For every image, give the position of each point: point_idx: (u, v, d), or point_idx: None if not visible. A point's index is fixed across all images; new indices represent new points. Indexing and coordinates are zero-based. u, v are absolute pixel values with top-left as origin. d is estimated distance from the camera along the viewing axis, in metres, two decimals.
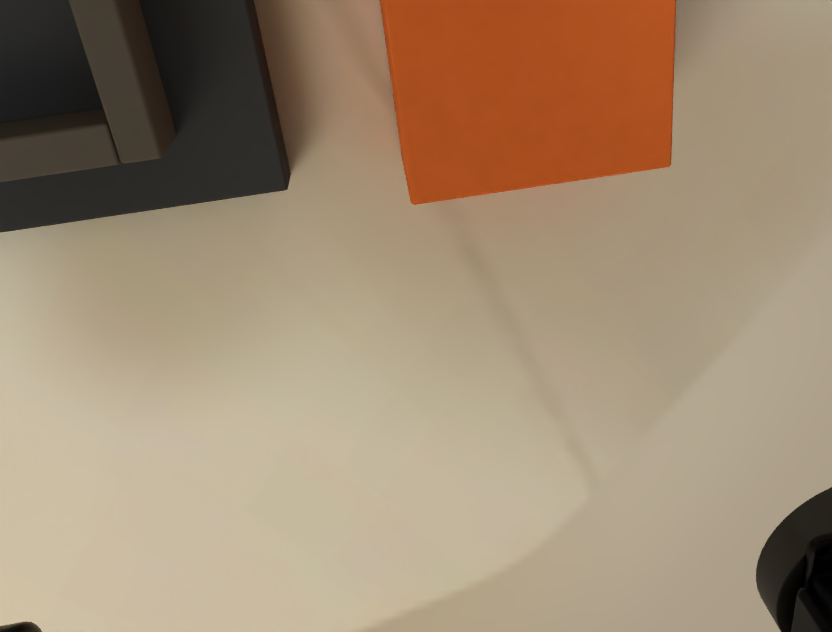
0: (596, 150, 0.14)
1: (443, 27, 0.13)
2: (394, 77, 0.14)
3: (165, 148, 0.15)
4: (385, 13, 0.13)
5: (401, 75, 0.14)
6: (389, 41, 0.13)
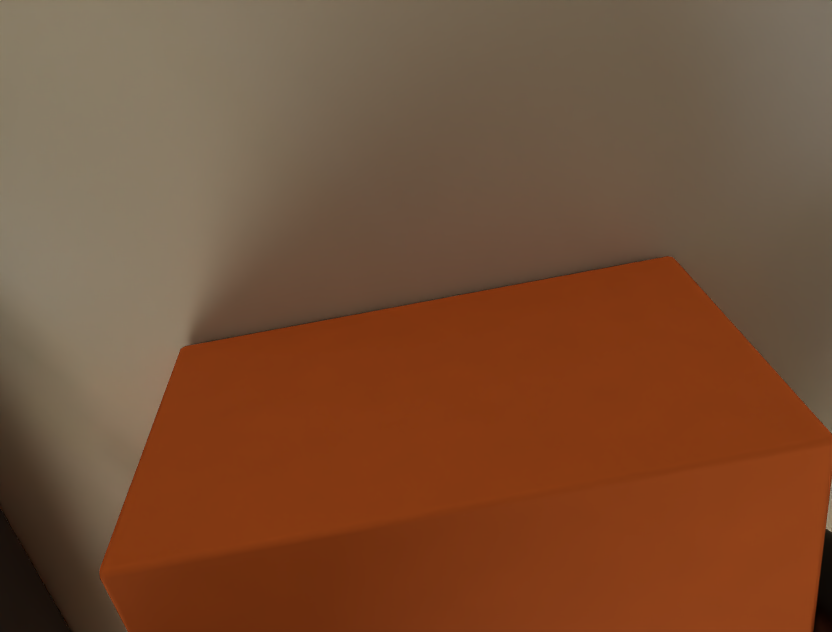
0: None
1: None
2: None
3: None
4: None
5: None
6: None
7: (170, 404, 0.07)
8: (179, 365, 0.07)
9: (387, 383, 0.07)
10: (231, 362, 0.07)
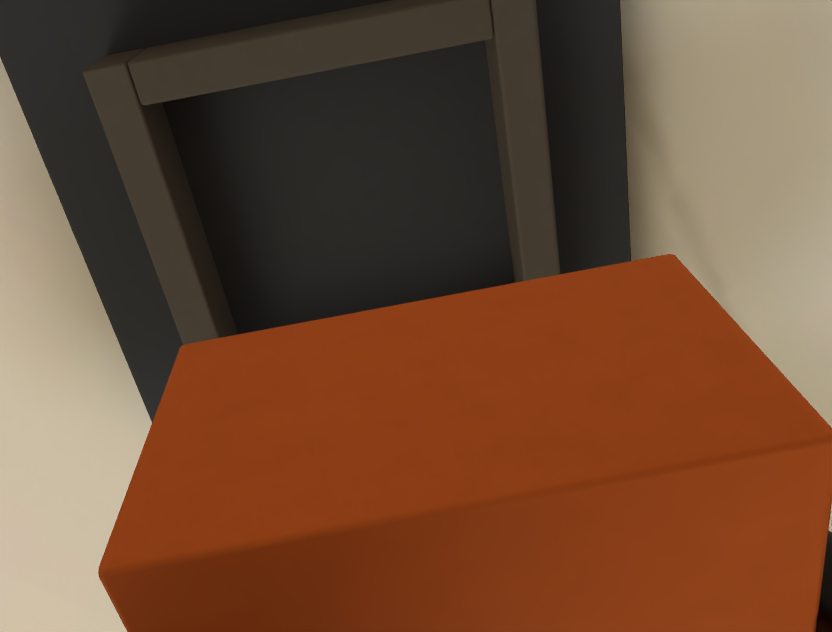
0: None
1: None
2: None
3: None
4: None
5: None
6: None
7: (170, 402, 0.07)
8: (179, 363, 0.07)
9: (388, 380, 0.07)
10: (231, 360, 0.07)
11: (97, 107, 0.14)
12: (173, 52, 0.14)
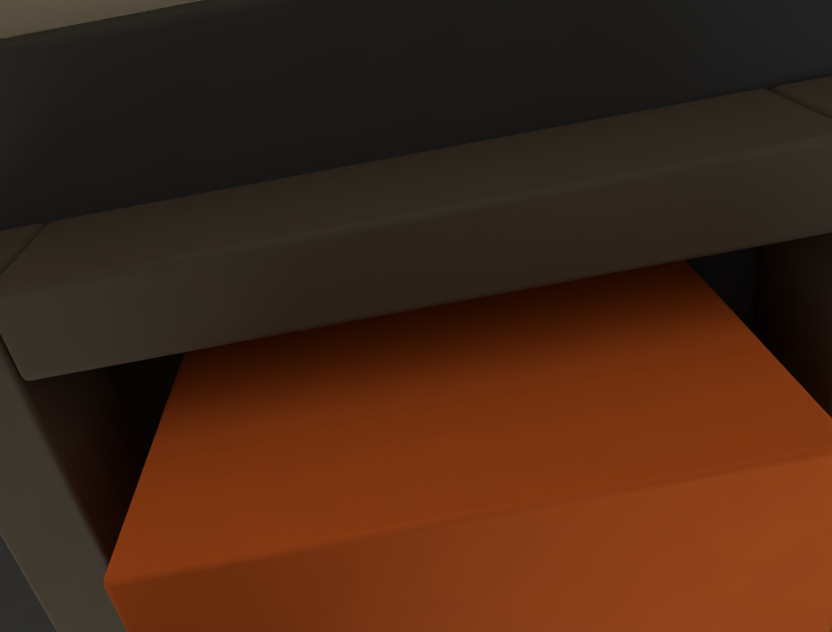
0: None
1: None
2: None
3: None
4: None
5: None
6: None
7: (175, 409, 0.07)
8: (184, 368, 0.07)
9: (395, 387, 0.06)
10: (236, 365, 0.07)
11: None
12: (94, 270, 0.06)
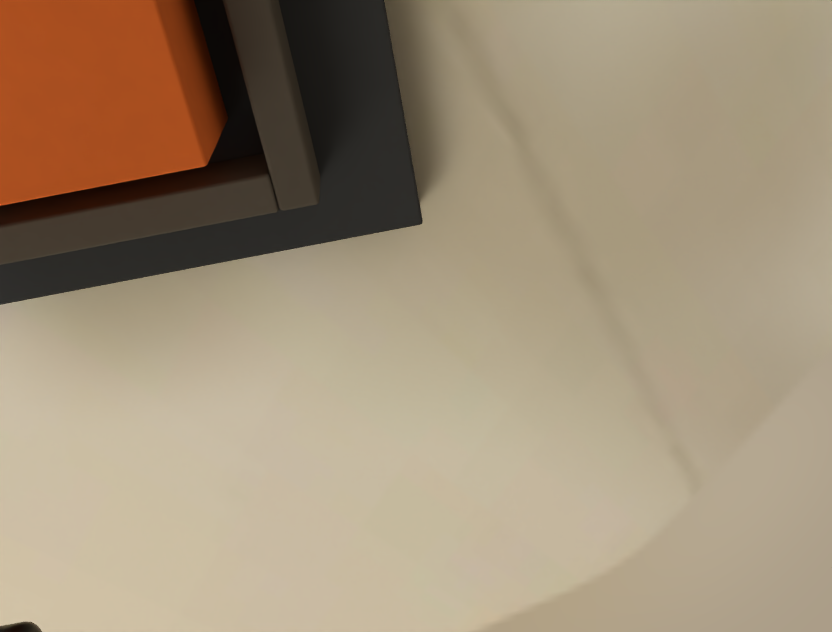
0: (111, 151, 0.13)
1: None
2: None
3: (319, 193, 0.15)
4: None
5: None
6: None
7: None
8: None
9: None
10: None
11: None
12: None
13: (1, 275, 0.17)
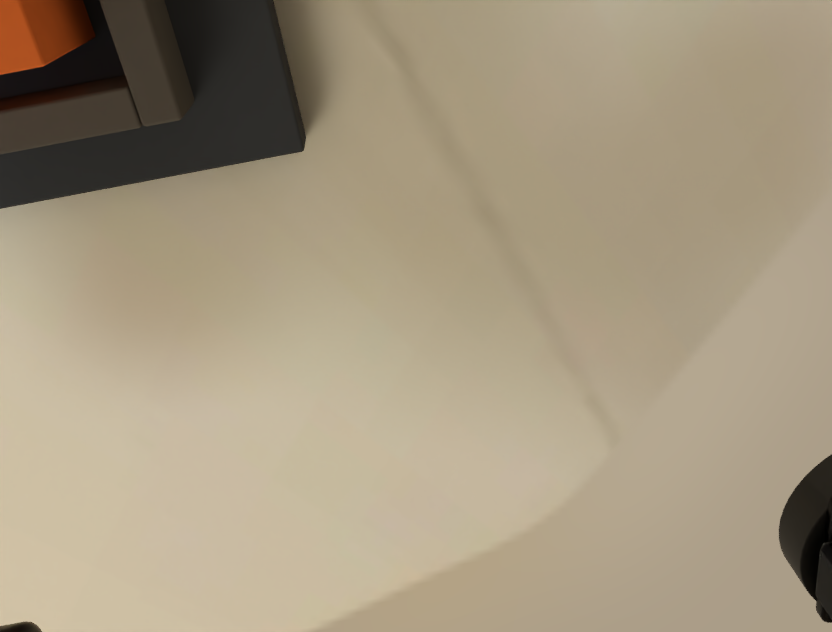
0: None
1: None
2: None
3: (184, 110, 0.15)
4: None
5: None
6: None
7: None
8: None
9: None
10: None
11: None
12: None
13: None
